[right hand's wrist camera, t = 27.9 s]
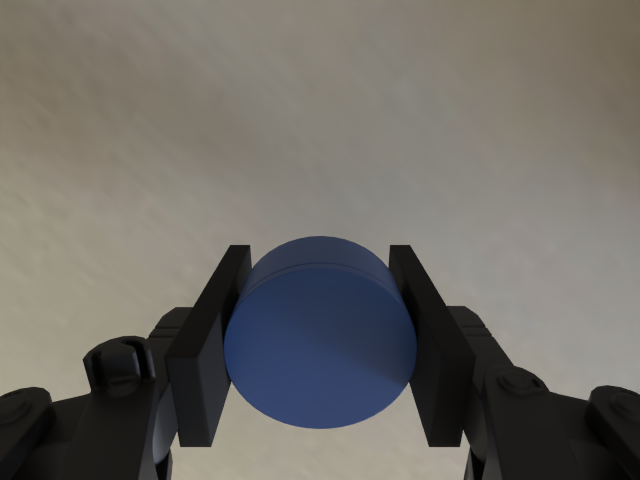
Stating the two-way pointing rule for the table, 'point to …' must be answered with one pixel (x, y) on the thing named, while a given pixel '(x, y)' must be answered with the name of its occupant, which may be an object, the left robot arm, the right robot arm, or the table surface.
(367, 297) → the lid
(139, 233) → the table surface
